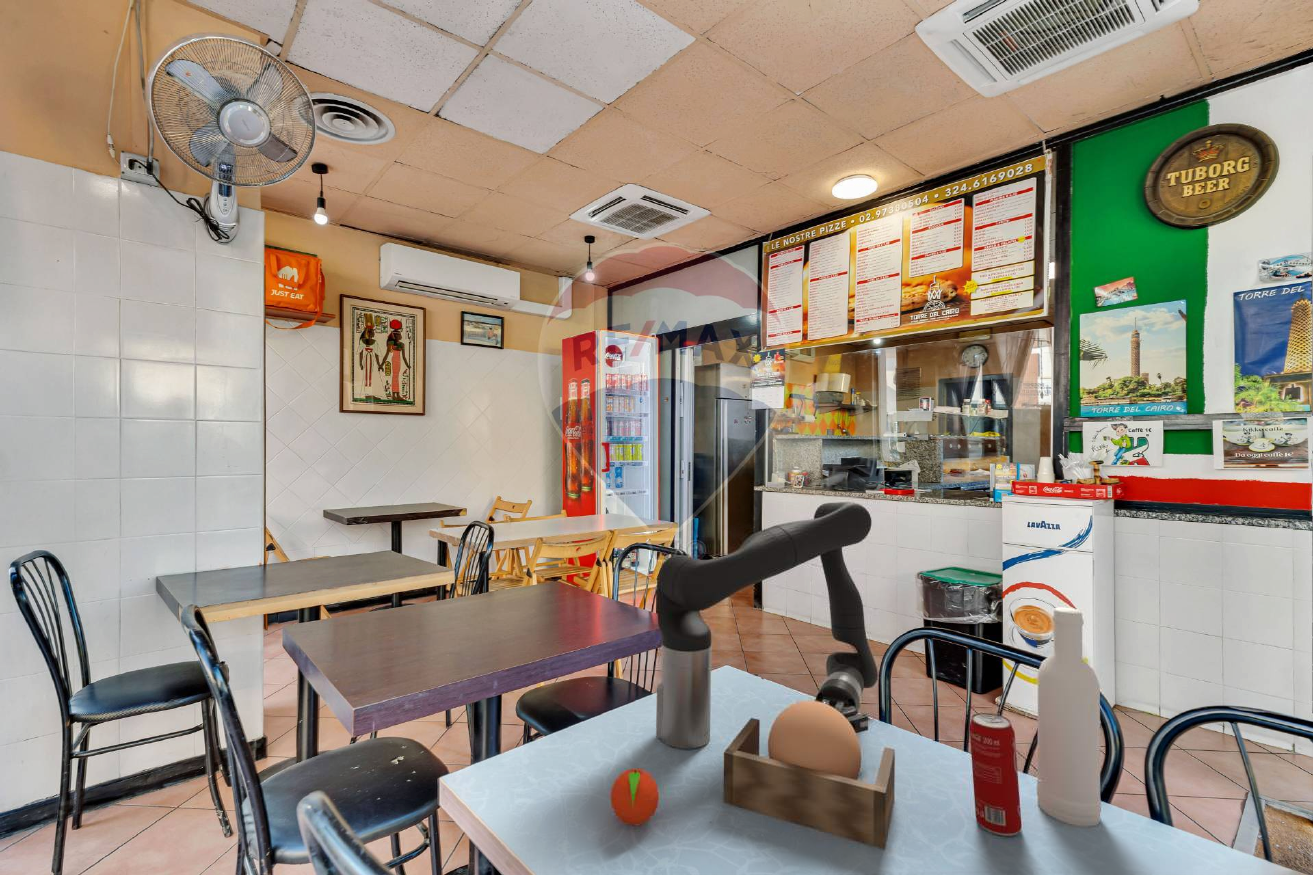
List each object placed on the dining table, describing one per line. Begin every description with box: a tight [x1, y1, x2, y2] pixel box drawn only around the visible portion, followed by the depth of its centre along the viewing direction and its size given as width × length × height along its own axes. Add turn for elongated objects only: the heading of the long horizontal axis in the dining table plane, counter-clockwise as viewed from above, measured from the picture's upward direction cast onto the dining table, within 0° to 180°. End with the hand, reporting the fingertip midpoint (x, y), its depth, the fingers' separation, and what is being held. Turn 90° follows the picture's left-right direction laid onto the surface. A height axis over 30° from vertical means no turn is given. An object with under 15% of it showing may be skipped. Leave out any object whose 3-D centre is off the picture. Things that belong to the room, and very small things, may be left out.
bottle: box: [1036, 606, 1102, 828], centre depth 90 cm, size 8×8×30 cm
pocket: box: [722, 717, 896, 850], centre depth 92 cm, size 23×14×8 cm, turn 63°
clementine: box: [610, 768, 660, 826], centre depth 86 cm, size 8×7×7 cm
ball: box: [767, 700, 862, 780], centre depth 93 cm, size 14×14×14 cm
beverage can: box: [968, 712, 1023, 837], centre depth 86 cm, size 6×6×15 cm
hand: (823, 736), depth 99 cm, fingers closed
